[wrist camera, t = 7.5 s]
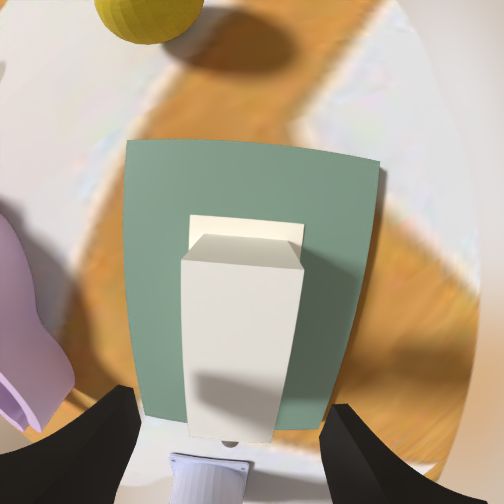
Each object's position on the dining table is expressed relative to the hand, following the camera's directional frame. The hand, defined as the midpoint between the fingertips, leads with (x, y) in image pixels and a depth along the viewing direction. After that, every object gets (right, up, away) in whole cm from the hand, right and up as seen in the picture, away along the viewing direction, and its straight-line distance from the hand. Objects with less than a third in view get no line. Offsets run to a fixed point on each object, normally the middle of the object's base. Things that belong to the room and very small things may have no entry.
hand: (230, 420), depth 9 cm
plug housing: (0, 0, +8) cm, 8 cm away
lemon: (-4, +20, +4) cm, 21 cm away
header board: (0, +2, +9) cm, 9 cm away
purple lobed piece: (-22, +2, +9) cm, 24 cm away
